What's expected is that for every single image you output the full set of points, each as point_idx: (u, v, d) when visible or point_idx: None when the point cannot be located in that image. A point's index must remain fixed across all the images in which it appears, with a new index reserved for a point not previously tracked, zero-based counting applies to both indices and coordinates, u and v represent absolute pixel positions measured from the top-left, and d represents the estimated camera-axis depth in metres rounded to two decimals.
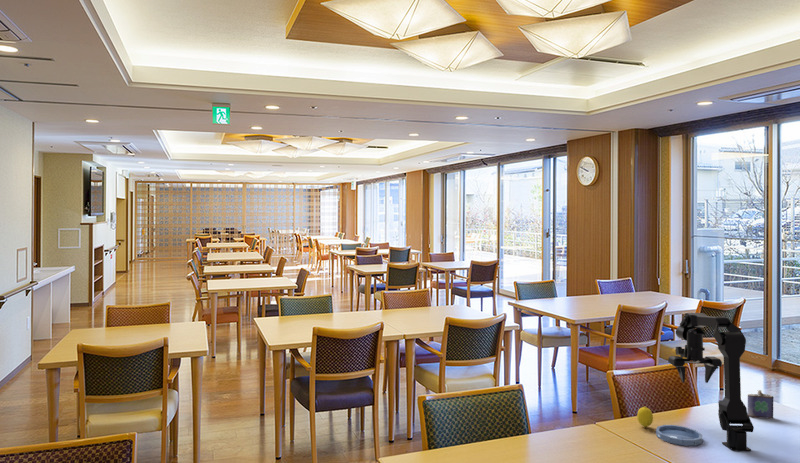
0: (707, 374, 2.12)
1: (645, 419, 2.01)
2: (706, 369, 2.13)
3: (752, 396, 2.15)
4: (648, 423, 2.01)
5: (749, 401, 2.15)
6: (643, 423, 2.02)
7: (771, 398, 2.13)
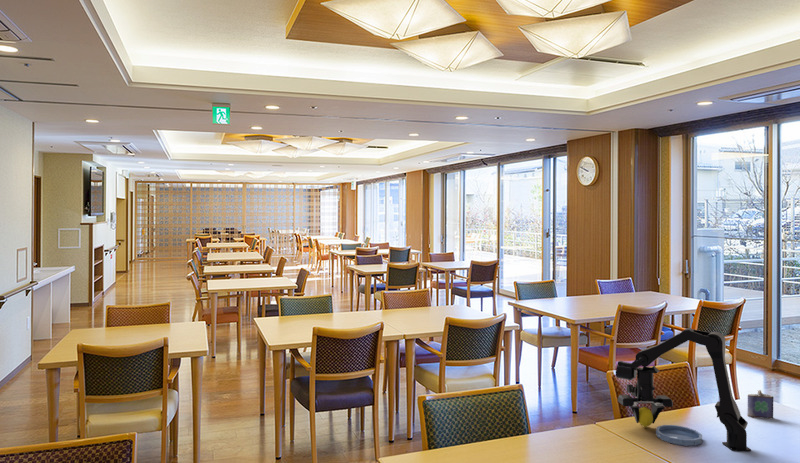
0: (653, 414, 2.03)
1: (645, 419, 2.01)
2: (652, 409, 2.04)
3: (752, 396, 2.15)
4: (648, 423, 2.01)
5: (749, 401, 2.15)
6: (643, 423, 2.02)
7: (771, 398, 2.13)
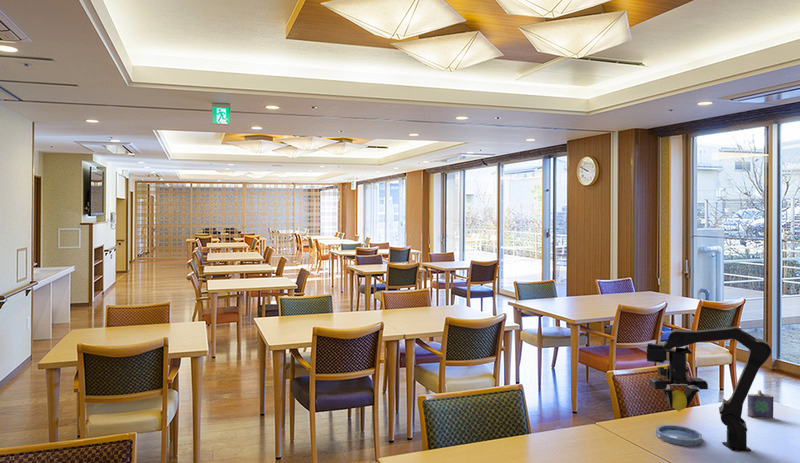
0: (687, 398, 1.92)
1: (678, 402, 1.91)
2: (686, 392, 1.94)
3: (752, 396, 2.15)
4: (682, 407, 1.91)
5: (749, 401, 2.15)
6: (677, 407, 1.91)
7: (771, 398, 2.13)
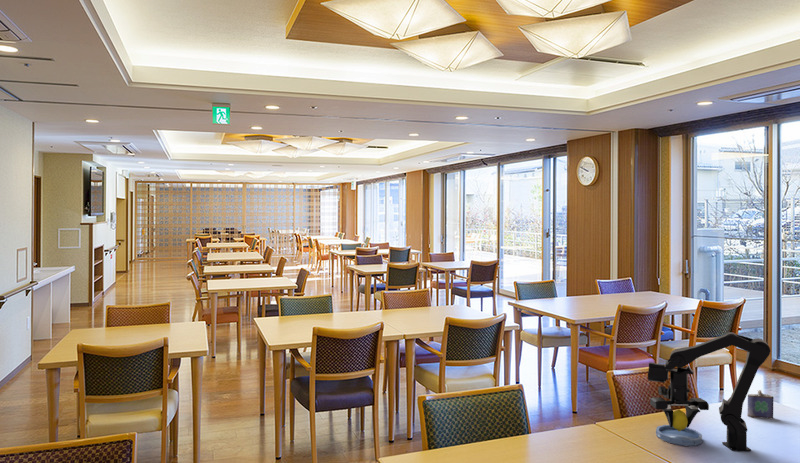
0: (688, 418, 1.92)
1: (679, 423, 1.91)
2: (687, 412, 1.93)
3: (752, 396, 2.15)
4: (683, 427, 1.91)
5: (749, 401, 2.15)
6: (677, 427, 1.91)
7: (771, 398, 2.13)
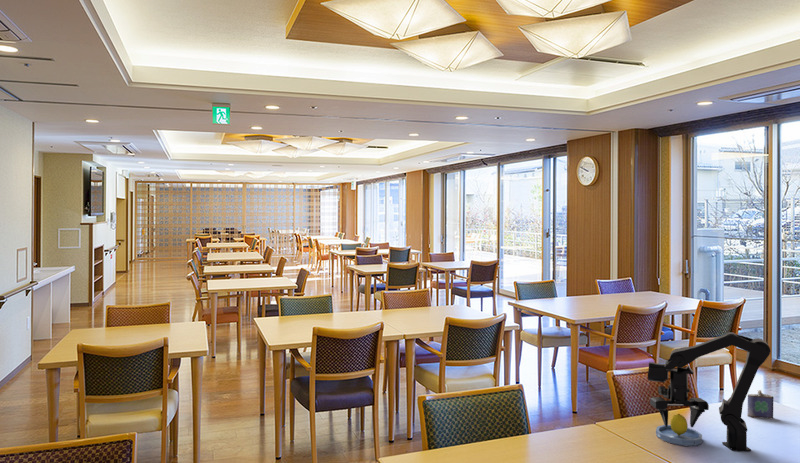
0: (692, 418, 1.92)
1: (679, 427, 1.90)
2: (691, 412, 1.93)
3: (752, 396, 2.15)
4: (682, 431, 1.91)
5: (749, 401, 2.15)
6: (677, 431, 1.91)
7: (771, 398, 2.13)
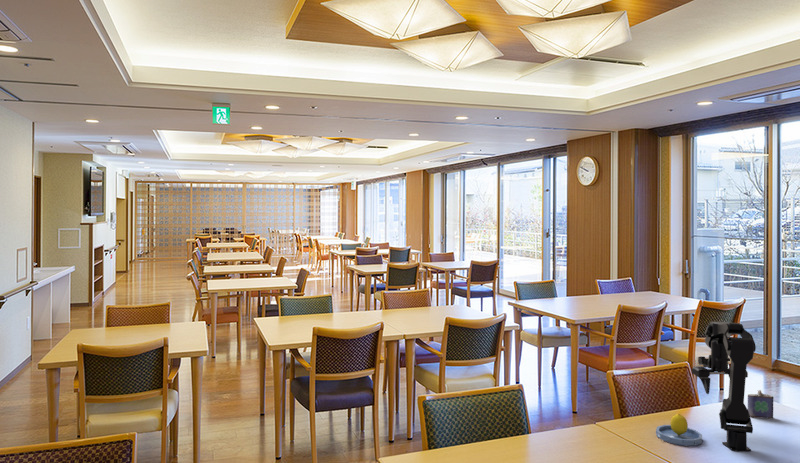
0: None
1: (679, 427, 1.91)
2: None
3: (752, 396, 2.15)
4: (683, 431, 1.91)
5: (749, 401, 2.15)
6: (677, 431, 1.91)
7: (771, 398, 2.13)
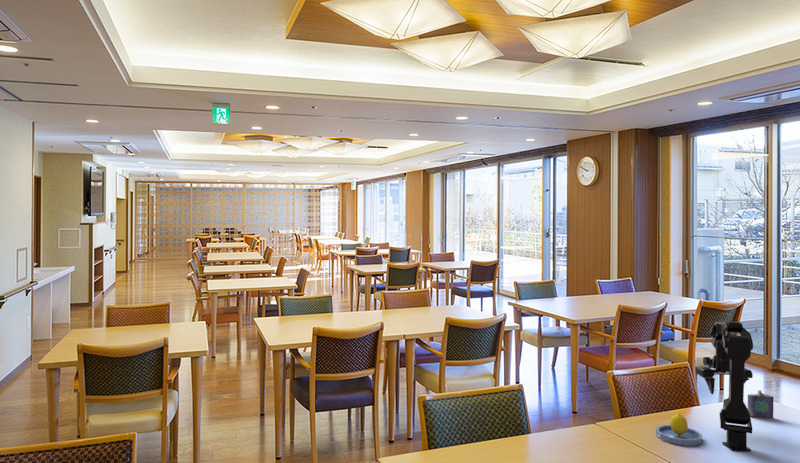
0: None
1: (679, 427, 1.91)
2: None
3: (752, 396, 2.15)
4: (683, 431, 1.91)
5: (749, 401, 2.15)
6: (677, 431, 1.91)
7: (771, 398, 2.13)
